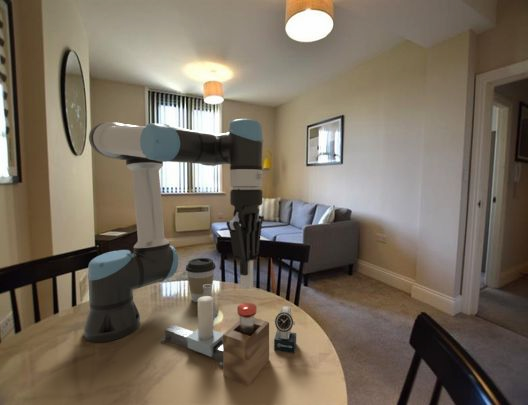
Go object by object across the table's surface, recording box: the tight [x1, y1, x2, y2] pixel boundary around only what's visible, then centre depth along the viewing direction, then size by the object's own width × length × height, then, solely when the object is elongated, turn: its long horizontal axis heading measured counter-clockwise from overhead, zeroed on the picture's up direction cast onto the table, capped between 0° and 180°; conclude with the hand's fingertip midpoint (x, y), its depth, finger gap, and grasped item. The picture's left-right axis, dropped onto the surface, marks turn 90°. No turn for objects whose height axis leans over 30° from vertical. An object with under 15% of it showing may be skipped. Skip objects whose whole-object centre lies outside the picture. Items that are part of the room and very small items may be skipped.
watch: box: [273, 305, 297, 354], centre depth 72 cm, size 6×8×11 cm
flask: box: [197, 284, 219, 318], centre depth 90 cm, size 7×7×10 cm
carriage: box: [187, 296, 225, 358], centre depth 70 cm, size 8×6×13 cm
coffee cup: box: [185, 257, 216, 303], centre depth 102 cm, size 11×11×15 cm
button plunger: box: [237, 302, 257, 336], centre depth 64 cm, size 5×5×6 cm
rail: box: [160, 324, 223, 368], centre depth 72 cm, size 22×6×3 cm, turn 62°
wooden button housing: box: [222, 317, 270, 387], centre depth 64 cm, size 7×10×10 cm
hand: (246, 286), depth 63 cm, fingers closed
